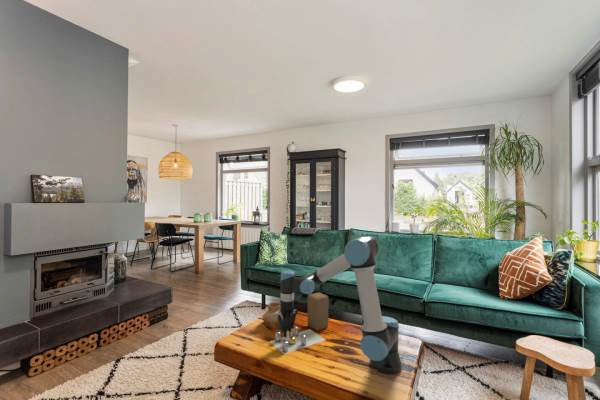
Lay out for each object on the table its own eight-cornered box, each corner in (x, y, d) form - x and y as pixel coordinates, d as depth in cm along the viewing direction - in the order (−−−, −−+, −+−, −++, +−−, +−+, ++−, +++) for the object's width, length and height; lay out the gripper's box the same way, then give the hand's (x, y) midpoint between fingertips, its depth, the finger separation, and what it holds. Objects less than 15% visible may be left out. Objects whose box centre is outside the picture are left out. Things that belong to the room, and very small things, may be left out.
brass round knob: (297, 342, 163) (297, 337, 163) (291, 346, 159) (291, 340, 159) (291, 339, 166) (291, 334, 166) (285, 342, 163) (285, 337, 163)
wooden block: (319, 321, 193) (319, 291, 193) (328, 327, 185) (329, 296, 185) (306, 325, 187) (307, 294, 187) (316, 331, 179) (316, 299, 179)
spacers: (310, 344, 162) (310, 335, 162) (284, 353, 152) (284, 343, 152) (296, 334, 173) (296, 325, 173) (271, 341, 164) (271, 333, 164)
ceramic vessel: (280, 339, 169) (281, 313, 169) (258, 323, 190) (259, 300, 190) (299, 332, 177) (300, 308, 177) (276, 318, 198) (277, 296, 198)
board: (326, 341, 167) (326, 339, 167) (284, 356, 151) (284, 354, 151) (309, 330, 180) (309, 329, 180) (269, 343, 164) (269, 341, 164)
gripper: (293, 295, 167) (292, 336, 168) (273, 300, 160) (273, 342, 160) (300, 299, 161) (300, 341, 162) (280, 304, 154) (280, 348, 154)
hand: (286, 342), depth 161 cm, fingers closed
